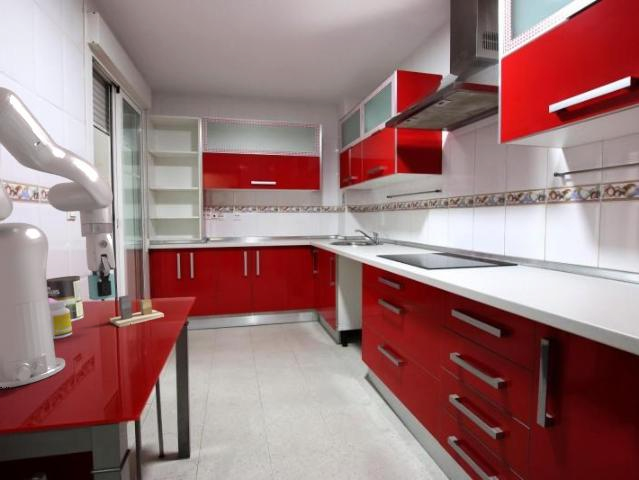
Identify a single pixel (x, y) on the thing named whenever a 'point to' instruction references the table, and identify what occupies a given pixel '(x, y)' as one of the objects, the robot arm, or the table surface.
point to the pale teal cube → (94, 290)
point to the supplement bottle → (60, 319)
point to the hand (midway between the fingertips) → (102, 294)
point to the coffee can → (67, 294)
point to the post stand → (130, 318)
